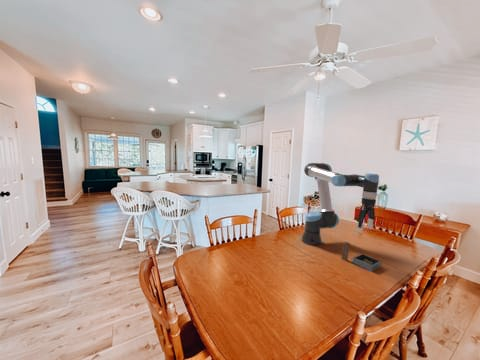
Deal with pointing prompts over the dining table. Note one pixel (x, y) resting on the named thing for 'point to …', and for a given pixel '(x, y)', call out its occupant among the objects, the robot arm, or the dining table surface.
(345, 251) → the curved brown wooden bar
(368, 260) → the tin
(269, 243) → the dining table surface
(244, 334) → the dining table surface
